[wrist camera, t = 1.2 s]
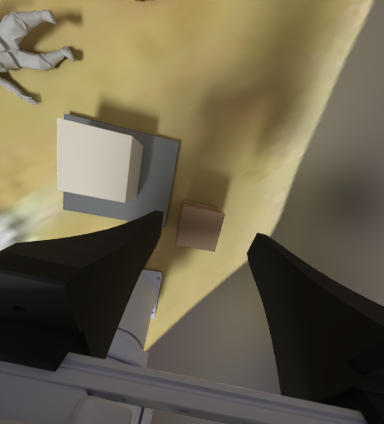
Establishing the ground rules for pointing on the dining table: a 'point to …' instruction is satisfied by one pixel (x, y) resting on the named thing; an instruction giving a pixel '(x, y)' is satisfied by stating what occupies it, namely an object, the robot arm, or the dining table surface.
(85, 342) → the robot arm
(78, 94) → the dining table surface
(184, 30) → the dining table surface
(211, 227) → the walnut cube
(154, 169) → the slate board
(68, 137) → the cream block
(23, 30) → the soldier figure
